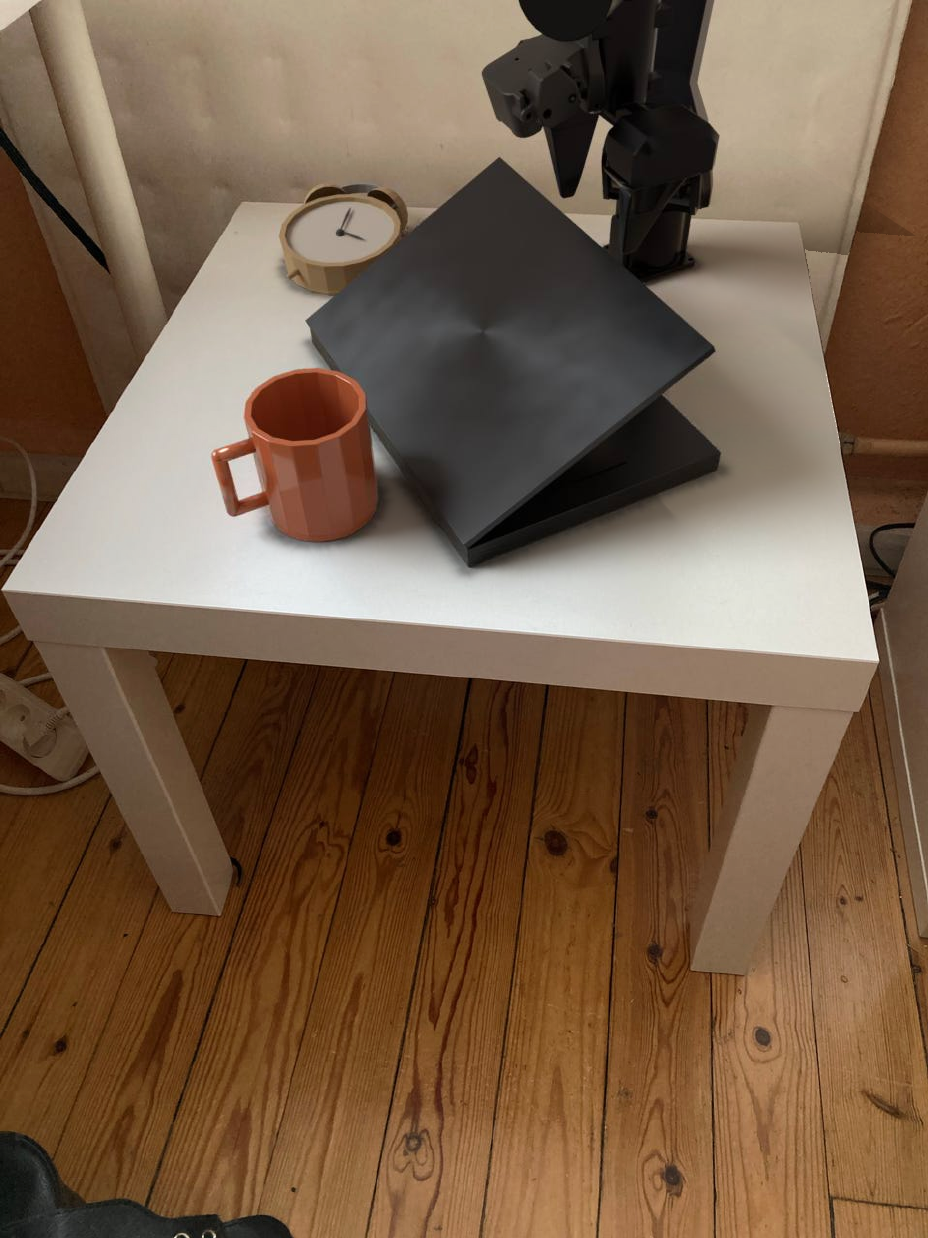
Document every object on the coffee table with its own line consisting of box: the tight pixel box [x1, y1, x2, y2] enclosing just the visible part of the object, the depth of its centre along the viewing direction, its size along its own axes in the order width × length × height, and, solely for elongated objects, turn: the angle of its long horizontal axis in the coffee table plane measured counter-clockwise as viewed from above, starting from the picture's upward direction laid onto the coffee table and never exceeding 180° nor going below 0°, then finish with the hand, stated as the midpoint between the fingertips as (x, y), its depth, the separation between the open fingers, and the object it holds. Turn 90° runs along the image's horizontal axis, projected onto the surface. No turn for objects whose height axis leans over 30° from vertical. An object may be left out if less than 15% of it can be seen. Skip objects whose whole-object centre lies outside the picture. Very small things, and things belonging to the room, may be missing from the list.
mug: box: [210, 367, 380, 543], centre depth 72 cm, size 11×8×9 cm
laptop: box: [309, 328, 722, 568], centre depth 82 cm, size 21×30×2 cm
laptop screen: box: [304, 156, 716, 549], centre depth 77 cm, size 21×30×1 cm
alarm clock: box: [278, 182, 409, 296], centre depth 96 cm, size 11×5×15 cm
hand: (596, 223), depth 75 cm, fingers open, 9 cm apart
